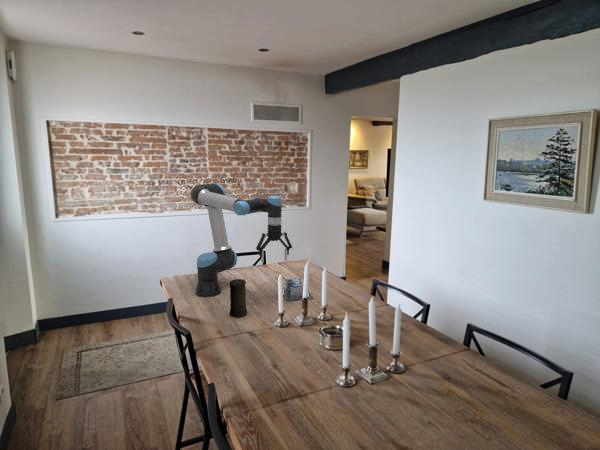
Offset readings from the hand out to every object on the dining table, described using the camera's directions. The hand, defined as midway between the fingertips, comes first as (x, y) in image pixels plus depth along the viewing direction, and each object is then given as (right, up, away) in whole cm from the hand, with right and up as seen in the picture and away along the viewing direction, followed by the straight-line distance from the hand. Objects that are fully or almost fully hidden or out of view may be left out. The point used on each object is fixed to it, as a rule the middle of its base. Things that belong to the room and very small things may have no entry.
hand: (274, 261), depth 220 cm
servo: (+12, -20, +14) cm, 27 cm away
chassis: (+12, -21, +14) cm, 28 cm away
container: (-18, -26, -15) cm, 35 cm away
